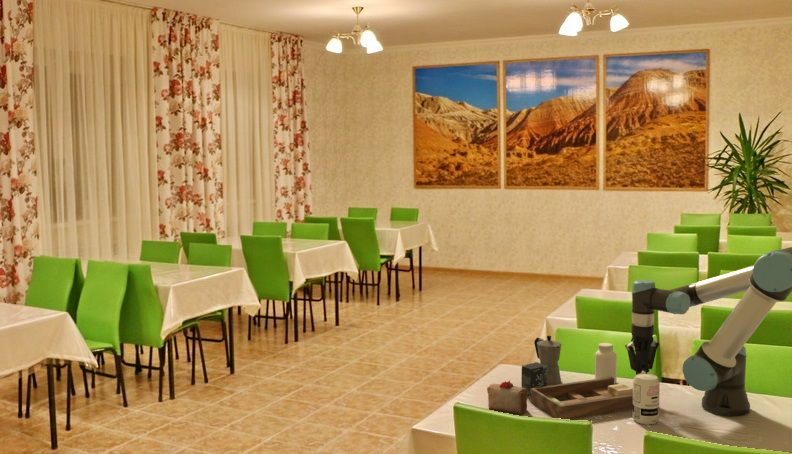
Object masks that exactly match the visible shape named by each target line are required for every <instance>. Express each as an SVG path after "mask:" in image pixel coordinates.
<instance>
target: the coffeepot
mask: <svg viewBox="0 0 792 454" xmlns="http://www.w3.org/2000/svg"><path fill="white" fill-rule="evenodd" d="M546 338H547V339H543V338H540V337H536V338H535V340H534V342H533V343H534V347H535V353H536V356H537V359H539V363H541V364H544V365H547V386H551V385H558V384H561V382H562V378H561V377H562V376H561V372H560V365H559V364H558V363H559V361H560V357H561V350H562V343H561V342H560V341H558V340H557V341H556V340H552V336H551V335H546Z"/></svg>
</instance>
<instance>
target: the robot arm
mask: <svg viewBox="0 0 792 454" xmlns="http://www.w3.org/2000/svg"><path fill="white" fill-rule="evenodd" d="M631 291H632V292H631V299H632V300H631V323H632V324H631V329H630V330H631V339H630V342H629V343H626V344H625V345H624V346H625V349H626V351H627V356H628V360H629V365H630V369H631V370H633V371H634V372H635V375H636V374H641V373H646V374H648V373H649V372H650V371H651V370H652V369H653V367H654V362H655V358H656V355H657V349H658V347H659V345H660V343H659V342H658V341H656V340H655V339H654V337H653V336H654V335H655V326H654V324H655V311H659V312H664V313H667V314H673V315H685V314H687V312H688V311H689V309H690V308H691V307H697V306H699V305H702V304H705V303H709V302H712V301H717V300H721V299H725V298H727V297H732V296H735V295H739V294H742V293H744V294H743V296H742V297H741V299H740V300H739V301H738V302H737V304H736V305H735V306H734V307H733V309H732V311H731V312H730V314H729V315H728V316H727V318H726V319H725V320H724V321H723V323H722V324H721V326H720V327H719V329H718V330H717V331H716V333H715V334H714V335H713V337H711V340H706V341H703V342H702V344H700V346H699V348H698V349H697V350H696V352H694V354H693V355H690V356H688V357H687V358H686V359H685V360H684V362H683V363H682V374H683V377H684V380H685V381H686V382H687V384H688V385H689V386H690V387H692V388H693V389H695V390H698V391H700V392H701V391H702V392H704V394H703V397H702V398H701V408H702V409H704V410H705V411H707V412H709V413H712V414H716V415H720V416H727V417H729V416H730V417H741V416H740V415H742V416H746V415H748V414H750V413H751V404H750V401H749V398H748V394H747V391H746V373H747V372H746V366H747V357H748V356H747V349H746V347H745V346H744V345H746V343H747V342H748V341H749V339H750V338H751V336H752V335H753V334H754V333H755V331H756V330H757V328H758V327H759V326H760V324H761V323H762V322H763V321H764V319H765V318H766V317H767V315H768V314H769V313H770V311H772V309H773V307H774V306H775V305H776V303H781V302H784V301H786V299H787V298H788V297H789V296H790V295H791V293H792V246H791V247H786V248H782V249H778V250H771V251H768V252H766V253H764V254H763V255H761V256H759V257H758V258H757V259H756V261H755V262H754V264H752V265H749V266H747V267H743V268H739V269H736V270H734V271H733V270H732V271H730V272H726V273H723V274H721V275H716V276H713V277H710V278H706V279H704V280H701V281H697V282H693V283H690V284H687V285H683V286H680V287H675V288H673V289H663V288H657V287H656V282H654V281H653V280H649V279H638V280H635V281H633V283H632V289H631ZM745 414H746V415H745Z"/></svg>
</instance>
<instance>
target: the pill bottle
mask: <svg viewBox="0 0 792 454" xmlns="http://www.w3.org/2000/svg"><path fill="white" fill-rule="evenodd" d="M597 348H598V350H597V351H596V352H595V354H594V379H600V378H607V377H613V378H614V385H616V384H617V376H618V375H617V373H618V372H617V371H618V369H617V365H618V363H617V361H618V360H617V357H618V355H617V353H616V352H615V351H614V345H613V343H610V342H601V343H598V347H597Z"/></svg>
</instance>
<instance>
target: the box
mask: <svg viewBox="0 0 792 454" xmlns="http://www.w3.org/2000/svg"><path fill="white" fill-rule="evenodd" d="M544 386H548V385H547V365H544V364H541V363H540V362H537V361H536V362H532V363H527V364H522V365H521V387H522V388H526V389H527V397H528V396H529V397H531V388H537V387H544Z"/></svg>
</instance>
